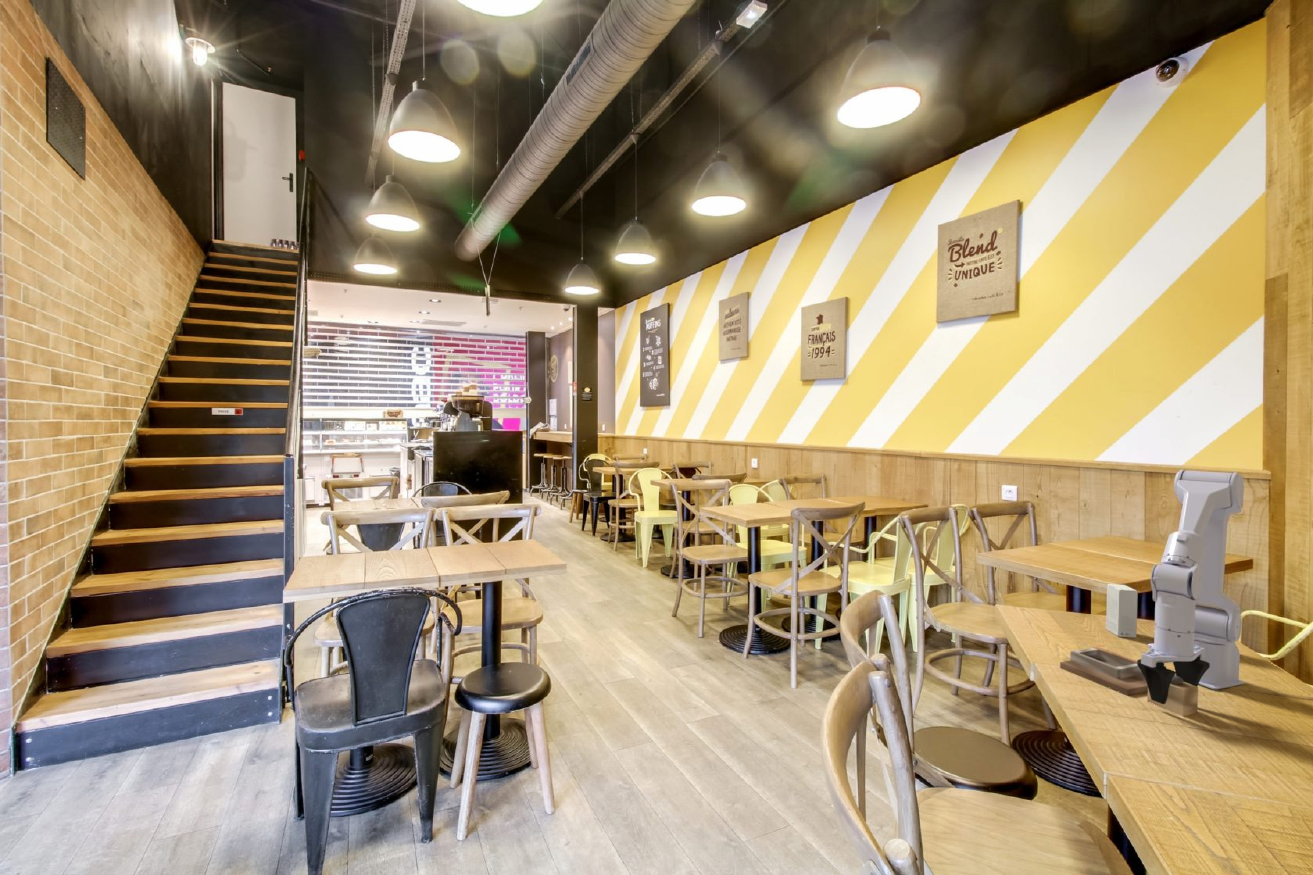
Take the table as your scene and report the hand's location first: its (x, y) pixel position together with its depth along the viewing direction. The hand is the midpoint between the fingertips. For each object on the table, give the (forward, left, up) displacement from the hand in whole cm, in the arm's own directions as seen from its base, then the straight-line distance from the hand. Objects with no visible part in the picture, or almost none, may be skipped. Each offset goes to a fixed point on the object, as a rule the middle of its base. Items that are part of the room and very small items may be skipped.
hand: (1172, 698), depth 114 cm
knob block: (0, 0, -2) cm, 2 cm away
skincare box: (-32, -31, -2) cm, 45 cm away
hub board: (-5, -13, -2) cm, 14 cm away
